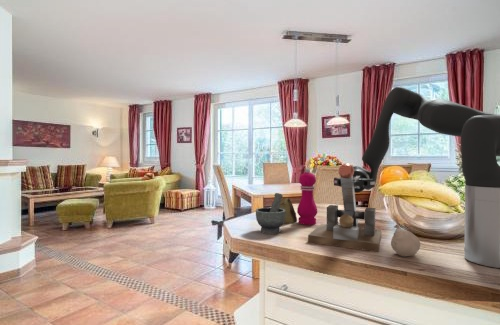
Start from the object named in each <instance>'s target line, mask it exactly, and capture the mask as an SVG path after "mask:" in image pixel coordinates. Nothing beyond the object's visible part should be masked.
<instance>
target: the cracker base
mask: <svg viewBox="0 0 500 325" xmlns="http://www.w3.org/2000/svg"><path fill="white" fill-rule="evenodd" d="M337 210H339V205H337V204H329V205H328V206H327V207H326V224H325V223H320V225H318V226H317V227H316V228H315V229H313V230H312V231H311V232H309V233H308V235H307V242H308V243H310V244H311V243H312V244H319V245H326V246H333V247H340V248H341V247H342V248H348V249H354V250H355V249H356V250H361V251H369V252H370V251H371V252H379V250H380V245H381V240H382V229H376V207H365V210H364V212H365V219H364V227H359V226H357V227H355V226H352V225H353V218H352V217H351V216H350V215H347V214H345V215H342V216H341V217H337Z"/></svg>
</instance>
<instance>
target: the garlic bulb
mask: <svg viewBox="0 0 500 325" xmlns="http://www.w3.org/2000/svg"><path fill="white" fill-rule="evenodd" d="M393 228H395V229H396V230H395V231H394V232H393V235H392V238H391V242H390V245H391V248H392V250H393V251H395V252H396V254H397V255H399V256H400V257H410V256H415V255H416V254H417V253H418V252H419V250H420V248H421V240H420V239H419V238H418V236H416V235H415V234H414V233H413V232H411V231H409V230H407V229H406V230H405V229H403V228H401V227H400V225H399V224H398V223H397V224H395V225H394V226H393Z"/></svg>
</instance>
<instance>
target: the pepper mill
mask: <svg viewBox="0 0 500 325" xmlns="http://www.w3.org/2000/svg"><path fill="white" fill-rule="evenodd" d="M316 181H317V178H316V176H315V175H314V173H313V172H311V169H310V168H305V170H304V172H303V173H302V174H300V176H299V179H298V182H299V184H300V190H301V197H300V201H299V203H298V205H297V211H296V212H297V213H296V214H298V216H299V217H298V224H300V225H305V226H308V225H309V226H312V225H316V224H317V218H316V216H317V214H318V207H317V204H316V203H315V202H316V201H315V200H314V199H315V198H314V191H315V186H314V185H315V184H316Z"/></svg>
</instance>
